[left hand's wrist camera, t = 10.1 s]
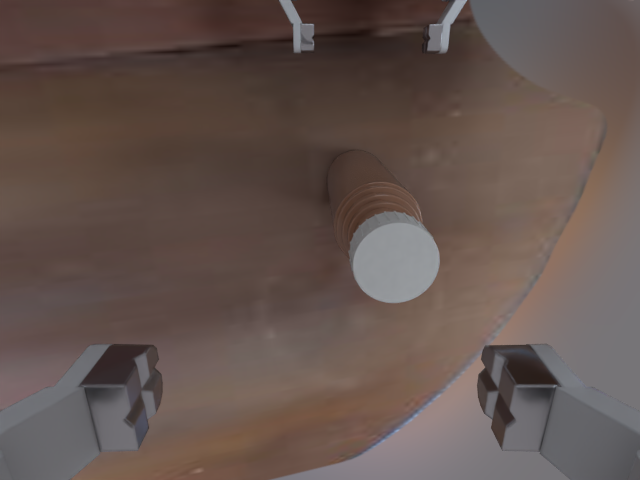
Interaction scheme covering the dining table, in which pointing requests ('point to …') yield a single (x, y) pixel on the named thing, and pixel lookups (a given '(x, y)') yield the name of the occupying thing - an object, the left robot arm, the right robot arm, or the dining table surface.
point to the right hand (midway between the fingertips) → (369, 53)
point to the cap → (393, 257)
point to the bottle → (363, 194)
